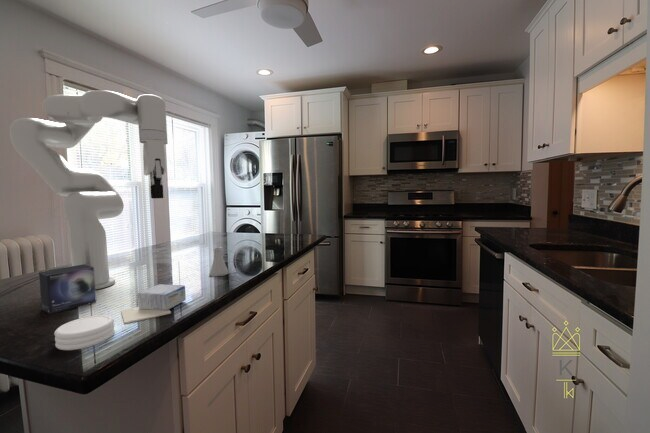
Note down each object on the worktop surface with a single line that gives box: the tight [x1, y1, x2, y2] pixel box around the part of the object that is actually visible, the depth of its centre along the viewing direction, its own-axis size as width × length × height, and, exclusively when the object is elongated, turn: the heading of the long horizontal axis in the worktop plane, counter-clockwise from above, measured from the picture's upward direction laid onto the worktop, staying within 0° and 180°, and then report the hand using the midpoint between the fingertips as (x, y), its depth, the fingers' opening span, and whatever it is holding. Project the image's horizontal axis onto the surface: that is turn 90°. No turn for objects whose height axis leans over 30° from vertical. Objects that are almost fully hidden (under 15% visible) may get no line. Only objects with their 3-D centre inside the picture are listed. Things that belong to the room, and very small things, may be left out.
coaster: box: [53, 314, 116, 351], centre depth 66 cm, size 10×10×4 cm
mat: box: [120, 306, 172, 325], centre depth 80 cm, size 10×10×1 cm
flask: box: [208, 247, 230, 277], centre depth 116 cm, size 7×7×10 cm
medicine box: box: [137, 283, 187, 310], centre depth 84 cm, size 8×4×9 cm
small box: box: [38, 264, 97, 315], centre depth 85 cm, size 11×6×10 cm, turn 148°
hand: (157, 198), depth 96 cm, fingers closed
